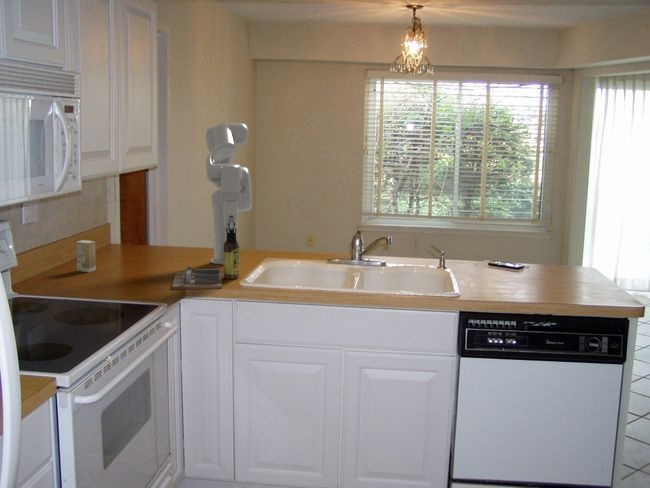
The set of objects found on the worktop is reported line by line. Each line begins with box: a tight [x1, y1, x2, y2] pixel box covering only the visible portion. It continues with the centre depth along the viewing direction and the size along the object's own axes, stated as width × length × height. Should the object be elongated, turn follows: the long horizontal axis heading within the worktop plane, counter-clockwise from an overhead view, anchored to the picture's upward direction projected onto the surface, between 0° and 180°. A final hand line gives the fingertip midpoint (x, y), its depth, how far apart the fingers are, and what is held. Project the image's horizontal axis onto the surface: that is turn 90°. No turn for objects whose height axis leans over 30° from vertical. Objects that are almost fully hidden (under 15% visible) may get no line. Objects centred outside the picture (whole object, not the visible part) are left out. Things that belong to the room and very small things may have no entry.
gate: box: [186, 265, 192, 283], centre depth 259 cm, size 10×2×4 cm, turn 9°
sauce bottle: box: [222, 227, 240, 280], centre depth 267 cm, size 7×6×20 cm
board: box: [171, 268, 223, 290], centre depth 262 cm, size 24×18×4 cm
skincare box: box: [75, 239, 97, 273], centre depth 276 cm, size 6×4×12 cm
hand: (231, 241), depth 266 cm, fingers open, 9 cm apart
